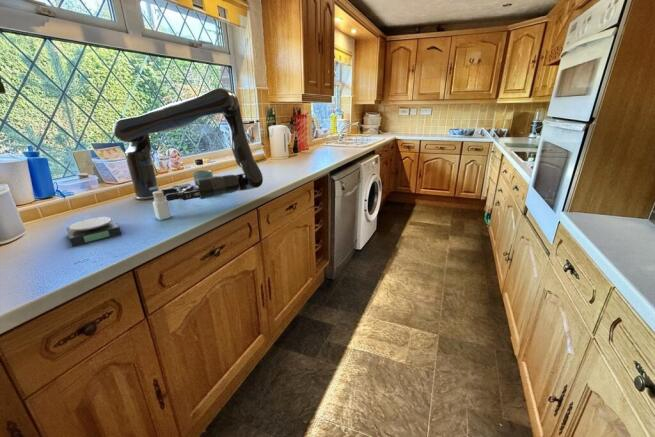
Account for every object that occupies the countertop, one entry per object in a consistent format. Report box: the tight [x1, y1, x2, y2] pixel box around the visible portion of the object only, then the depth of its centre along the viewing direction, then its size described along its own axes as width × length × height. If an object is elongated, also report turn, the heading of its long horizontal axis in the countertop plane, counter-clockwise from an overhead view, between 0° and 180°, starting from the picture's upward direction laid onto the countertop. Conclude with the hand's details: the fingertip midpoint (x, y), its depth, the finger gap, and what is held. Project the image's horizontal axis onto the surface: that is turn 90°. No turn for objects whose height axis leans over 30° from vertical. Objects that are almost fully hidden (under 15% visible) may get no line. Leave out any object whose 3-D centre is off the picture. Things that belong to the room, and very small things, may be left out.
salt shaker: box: [152, 190, 172, 221], centre depth 105 cm, size 4×4×10 cm
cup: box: [192, 169, 214, 185], centre depth 134 cm, size 8×8×10 cm
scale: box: [65, 216, 122, 247], centre depth 93 cm, size 12×12×4 cm
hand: (163, 195), depth 104 cm, fingers open, 8 cm apart
